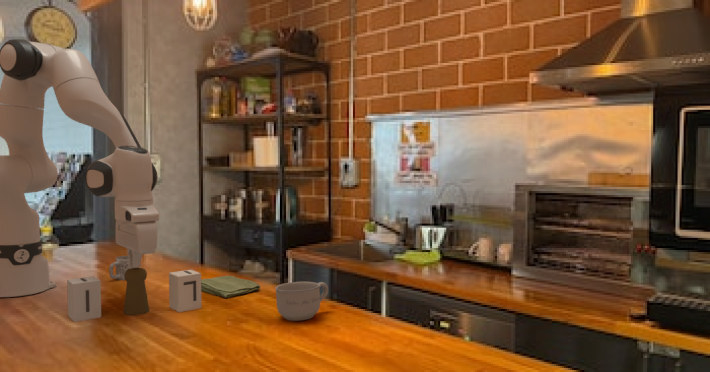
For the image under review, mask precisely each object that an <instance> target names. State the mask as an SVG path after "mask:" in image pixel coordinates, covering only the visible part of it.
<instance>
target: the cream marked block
mask: <svg viewBox="0 0 710 372" xmlns="http://www.w3.org/2000/svg"><path fill="white" fill-rule="evenodd" d="M201 279H202V273H201V272H199V271H195V270H194V269H187V270H186V269H185V270H179V271H178V270H177V271H173V272H172V271H171V272H168V294H169V296H168V299H169V301H168V302H169V305H168V306H169V308H171V310H174V311H175V310H176V312H177V313H182V312H187V311H193V310H198V309H202V291H201Z"/></svg>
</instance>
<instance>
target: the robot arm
mask: <svg viewBox="0 0 710 372" xmlns="http://www.w3.org/2000/svg"><path fill="white" fill-rule="evenodd" d="M0 69H1V72H2V73H3V76H2V77H3V78H2V81H1V84H0V137H1V138H2V139H3V140H4V141H5V143H6V145H7V149H8V152H9V153H8V155H7V154H6V155H3V154H2V155H0V298H14V297H22V296H29V295H34V294H39V293H42V292H45V291H47V290H49V289H52V288H56V287H57V282H55V281H51V279H50V277H51V275H50V265H49V260H48V259H47V258H46V257H44V255H43V254H42V253H43V244H42V243H43V242H42V240H41V231H40V228H41V227H40V224H41V223H40V215H39V213H38V212H37V211H36V210H35V209H33V208H31V206H30V205H29V203H28V201H27V199H26V196H25V195H26V194H29V193H31V194H32V193H40V192H42V191H46V190H47V189H50V188H51V187H53V186H54V185H55V184H56V182H57V180H58V174H59V173H58V167H57V166H56V164H55V163H54V162H53V160H52V159H51V158H50V157H49V155H48V152H47V150H46V147H45V143H44V139H43V129H44V128H43V127H44V112H45V111H44V109H45V96H46V92H47V91H48V90H49V89H50V88H51V87H52V88H53V92H54V95H55V98H56V101H57V103H58V106H59V108H60V109H61V111H62V112H63V114H65V116H67V117H68V118H69V119H70V120H71V121H74V122H76V123H78V124H83V125H85V126H88V127H90V128H93V129H95V130H98V131H99V132H102V133H103V134H104V135H106V136H107V137H108V138H109V139H110V140H111V141H112V144H113V145H114V147H115V149H114V151H113V153H111V154H110V155H107V156H106V157H103V158H100V159H98V160H93V161H92V162H91V163H89V165H88V166H87V169H86V171H85V175H84V178H85V180H84V181H85V185H86V187H87V189H88V190H89V192H90V193H91V194H92V195H94V196H95V197H100V198H111V197H113V198H114V220H115V237H114V238H115V243H116V245H118V246H121V247H123V248H125V249H127V251H126V253H127V256H129V261H130V266H132V267H134V268H141V266H142V263H141V261H142V258H143V255H147V254H148V255H149V254H150V255H151V254H154V253H156V250H157V248H158V247H157V246H158V224H157V222H159V220H160V213H159V211H158V210H157V209H156V207H155V205H154V197H153V193H152V191H153V190H154V189H155V188H156V185H157V183H158V172H157V169H156V167H155V165H154V164H153V162H152V159H151V158H152V157H151V154H150V152H149V150H148V149H146V148H145V147H142V146H141V144H140V142H139V140H138V139H137V137H136V135H135V133H134V131H133V130H132V128H131V126H130V124H129V122H128V120H127V119H126V118H125V116H124V114H123V113H122V111H121V110H120V109H119V108H118V107H117V106H115V105H114V104H113V103H112V101H111V100H110V99H109V97H107V95H106V94H105V92H104V90H103V88H102V86H101V83H100V81H99V79H98V76H97V74H96V72H95V70H94V68H93V66H92V65H91V63H90V61H89V59H88V58H87V56H86V55H85V54H84V53H83V52H82V51H80V50H77V49H75V48H63V47H61V46H58V45H54V44H51V43H43V42H37V41H29V40H26V39H19V38H18V39H17V38H16V39H9V40H7V41H5V42H4V43H3V44H2V46H1V48H0Z"/></svg>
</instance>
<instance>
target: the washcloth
mask: <svg viewBox="0 0 710 372" xmlns="http://www.w3.org/2000/svg"><path fill="white" fill-rule="evenodd" d="M260 289H261V285H260V284H259V283H258V282H255V281H253V280H250V279H244V278H239V277H237V276H233V275H221V276H216V277H212V278H211V277H210V278H203V279H202V278H201V293H203V292H204V293H206V294H211V295H214V296H219V297H222V298H226V299H228V298H233V297H236V296H241V295H244V294H247V293H251V292H256V291H260Z"/></svg>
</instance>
